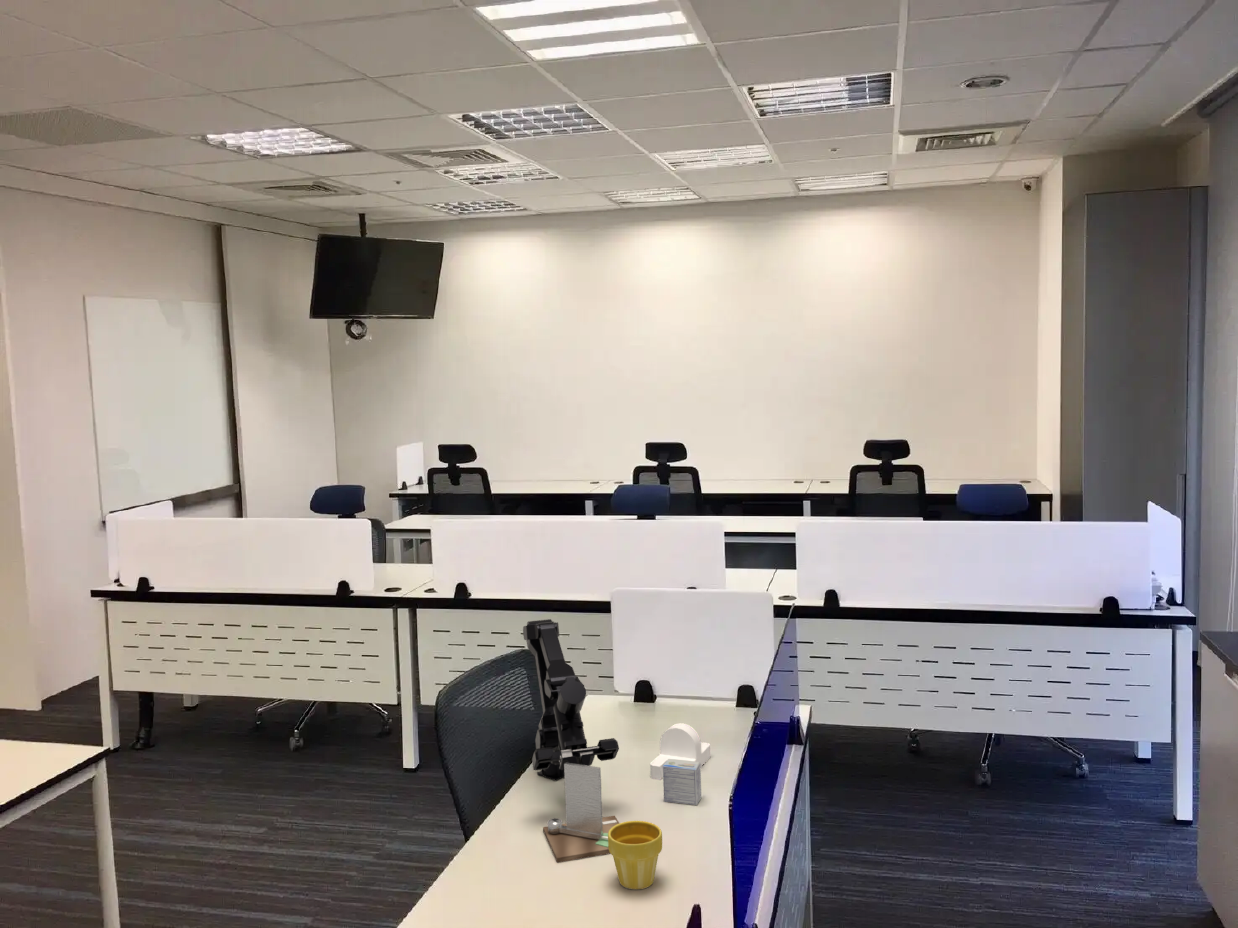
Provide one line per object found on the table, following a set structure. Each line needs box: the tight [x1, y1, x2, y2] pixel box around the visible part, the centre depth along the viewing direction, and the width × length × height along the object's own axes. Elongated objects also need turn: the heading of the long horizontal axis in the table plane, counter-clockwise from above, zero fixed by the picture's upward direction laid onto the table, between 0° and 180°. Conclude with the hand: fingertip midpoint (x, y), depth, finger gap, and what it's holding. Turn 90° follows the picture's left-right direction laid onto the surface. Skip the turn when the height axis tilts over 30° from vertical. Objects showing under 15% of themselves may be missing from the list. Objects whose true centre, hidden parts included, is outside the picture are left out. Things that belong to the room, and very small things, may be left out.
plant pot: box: [608, 820, 663, 890], centre depth 183 cm, size 10×10×10 cm
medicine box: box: [662, 759, 702, 806], centre depth 218 cm, size 8×4×9 cm, turn 71°
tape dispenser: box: [649, 722, 711, 781], centre depth 236 cm, size 10×18×11 cm, turn 155°
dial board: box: [542, 815, 620, 864], centre depth 200 cm, size 16×14×1 cm
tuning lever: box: [547, 762, 608, 840], centre depth 199 cm, size 16×3×15 cm, turn 66°
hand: (582, 791), depth 206 cm, fingers closed
